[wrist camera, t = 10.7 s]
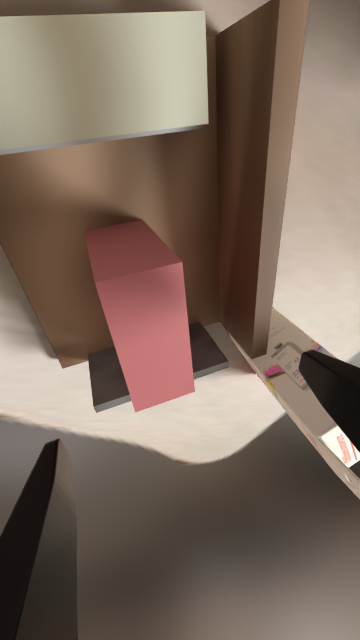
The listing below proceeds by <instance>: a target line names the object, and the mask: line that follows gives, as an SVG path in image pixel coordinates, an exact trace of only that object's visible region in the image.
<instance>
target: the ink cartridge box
mask: <svg viewBox="0 0 360 640" xmlns="http://www.w3.org/2000/svg"><path fill="white" fill-rule="evenodd" d="M229 336H230V338H231V339H232V340H233V342H234V343H235V345H236V346H237V348H238V349H239V350H240V352H241V353H242V355H243V356H244V357H245V359H246V360H247V361H248V363H249V364H250V366H251V367H252V368H253V370H254V371H255V372H256V374H257V376H258V377H259V378H260V379H261V380H262V382H263V383H264V384H265V385H266V387H267V388H268V389H269V391H270V392H271V393H272V394H273V396H274V397H275V398H276V399H277V401H278V402H279V403H280V404H281V406H282V407H283V408H284V410H285V411H286V412H287V413H288V414H289V416H290V417H291V418H292V419H293V421H294V422H295V423H296V424H297V426H298V427H299V428H300V429H301V431H302V432H303V433H304V434H305V436H306V437H307V438H308V439H309V441H310V442H311V443H312V444H313V446H314V447H315V448H316V449H317V451H318V452H319V453H320V454H321V455H322V457H323V458H324V459H325V461H326V462H327V463H328V464H329V465H330V467H331V468H332V469H333V471H334V472H335V473H336V474H337V475H338V476H339V478H341V480H342V481H343V482H344V483H345V484H346V485H347V486H348V487H349V488H350V489H351V490H352V491H353V492H354V493H355V495H356V496H357V497H358V498H359V499H360V479H359V478H358V477H357V476H356V475H355V474H354V473H353V472H352V471H351V470H350V469H349V467H350V466H351V465H353V464H355V463H356V462H357V461H359V460H360V453H359V451H358V450H357V449H356V448H355V446H354V445H353V444H352V443H351V441H350V440H349V439H348V438H347V436H346V435H345V434H344V433H343V432H342V430H341V429H340V428H339V427H338V425H337V424H336V423H335V422H334V420H333V419H332V418H331V417H330V415H329V414H328V413H327V412H326V410H325V409H324V408H323V407H322V405H321V404H320V402H319V401H318V399H317V398H316V396H315V395H314V393H313V392H312V390H311V389H310V387H309V386H308V384H307V383H306V381H305V380H304V378H303V377H302V375H301V374H300V372H299V362H300V358H301V354H302V353H303V352H305V351H308V350H316V351H318V352H321V353H323V354H326V355H329V356H331V357H334V358H336V357H335V356H333V355H332V354H331V353H329V352H328V351H327V350H326V349H324V348H323V347H322V346H321V345H319V344H318V343H317V342H315V341H314V340H313V339H312V338H310V337H309V336H308V335H307V334H306V333H304V332H303V331H302V330H301V329H299V328H298V327H297V326H295V325H294V324H293V323H292V322H291V321H289V320H288V319H287V318H285V317H284V316H283V315H282V314H280V313H279V312H278V311H277V310H275V309H274V308H273V307H272V312H271V321H270V329H269V337H268V345H267V354H266V355H263V356H260V357H257V358H254V359H251V358H250V357H249V356H248V355H247V354H246V352H245V351H244V350H243V349H242V348H241V346H240V345H239V344H238V343H237V342H236V340H235V339H234V338H233V337H232V336H231V334H230V333H229ZM336 359H337V358H336ZM346 475H347V476H346ZM347 477H348V478H349V479H350V480H351V481H352V483H353V484H352V483H351V482H350V481H349V480H348V478H347Z"/></svg>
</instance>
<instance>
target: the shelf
mask: <svg viewBox="0 0 360 640" xmlns="http://www.w3.org/2000/svg"><path fill="white" fill-rule="evenodd" d="M308 9H309V0H270V1H269V2H267V3H266V4H264V5H263V6H261V7H259V8H258V9H256V10H255V11H253V12H252V13H250V14H249V15H247V16H245V17H244V18H242V19H241V20H239V21H238V22H236V23H234V24H233V25H231V26H230V27H228V28H227V29H225V30H224V31H222V32H220V33H219V34H217V35H216V36H206V20H205V11H178V12H143V13H108V14H73V15H39V16H4V17H0V243H1V245H2V247H3V249H4V251H5V253H6V255H7V257H8V259H9V261H10V263H11V265H12V267H13V269H14V271H15V273H16V275H17V277H18V279H19V281H20V283H21V285H22V287H23V289H24V291H25V294H26V296H27V298H28V300H29V302H30V304H31V306H32V308H33V310H34V312H35V314H36V316H37V318H38V320H39V322H40V324H41V326H42V328H43V330H44V332H45V334H46V336H47V338H48V340H49V342H50V344H51V346H52V348H53V350H54V352H55V354H56V356H57V358H58V360H59V362H60V364H61V366H62V368H66V367H69V366H72V365H76V364H79V363H82V362H86V361H89V370H90V379H91V388H92V397H93V406H94V409H95V411H96V413H97V412H100V411H103V410H106V409H109V408H112V407H115V406H117V405H120V404H123V403H126V402H129V401H132V400H131V397H130V393H129V390H128V387H127V384H126V381H125V377H124V374H123V371H122V368H121V365H120V362H119V358H118V355H117V352H116V349H115V346H114V342H113V339H112V336H111V333H110V330H109V326H108V323H107V320H106V317H105V314H104V311H103V307H102V304H101V301H100V298H99V295H98V291H97V288H96V285H95V281H94V277H93V272H92V267H91V263H90V258H89V253H88V249H87V244H86V240H85V235H84V231H87V230H92V229H97V228H102V227H107V226H112V225H117V224H122V223H128V222H133V221H138V220H144V221H145V222H146V224H147V225H148V226H149V227H150V228H151V229H152V230H153V231H154V232H155V233H156V234H157V235H158V236H159V238H160V239H161V240H162V241H163V242H164V243H165V244H166V245H167V246H168V247H169V248H170V249H171V250H172V251H173V253H174V254H175V255H176V256H177V257H178V258H179V259H180V260H181V261H182V264H183V274H184V285H185V295H186V305H187V316H188V326H189V336H190V347H191V357H192V367H193V378H194V379H196V378H199V377H202V376H205V375H208V374H211V373H214V372H216V371H219V370H222V369H225V368H228V360H227V359H226V357H225V356H224V354H223V353H222V352H221V350H220V349H219V348H218V346H217V345H216V343H215V342H214V341H213V339H212V338H211V337H210V335H209V334H208V333H207V331H206V330H205V328H204V327H203V326H206V325H209V324H212V323H216V322H219V321H220V322H221V324H222V325H223V326H224V327H225V328H226V330H227V331H228V332H229V333H230V334H231V336H232V337H233V338H234V339H235V340H236V342H237V343H238V344H239V345H240V346H241V348H242V349H243V350H244V351H245V352H246V354H247V355H248V356H249V357H250V358H251V359H254V358H257V357H260V356H263V355H266V354H267V345H268V337H269V329H270V321H271V312H272V304H273V296H274V288H275V280H276V271H277V263H278V255H279V247H280V239H281V230H282V222H283V214H284V206H285V198H286V189H287V181H288V173H289V165H290V156H291V148H292V140H293V132H294V124H295V115H296V107H297V99H298V91H299V83H300V74H301V66H302V58H303V50H304V42H305V33H306V25H307V17H308Z"/></svg>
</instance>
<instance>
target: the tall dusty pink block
mask: <svg viewBox="0 0 360 640" xmlns="http://www.w3.org/2000/svg"><path fill="white" fill-rule="evenodd" d="M84 235H85V240H86V244H87V249H88V253H89V258H90V263H91V267H92V272H93V277H94V281H95V285H96V288H97V291H98V295H99V298H100V301H101V304H102V307H103V311H104V314H105V317H106V320H107V323H108V326H109V330H110V333H111V336H112V339H113V342H114V346H115V349H116V352H117V355H118V358H119V362H120V365H121V368H122V371H123V374H124V377H125V381H126V384H127V387H128V390H129V393H130V397H131V400H132V403H133V406H134V409H135V412H138V411H141V410H144V409H146V408H149V407H152V406H155V405H158V404H161V403H163V402H166V401H169V400H172V399H175V398H178V397H180V396H183V395H186V394H189V393H192V392H195V388H194V378H193V367H192V357H191V347H190V336H189V326H188V316H187V305H186V295H185V285H184V274H183V264H182V261H181V260H180V259H179V258H178V257H177V256H176V255H175V254H174V253H173V251H172V250H171V249H170V248H169V247H168V246H167V245H166V244H165V243H164V242H163V241H162V240H161V239H160V238H159V236H158V235H157V234H156V233H155V232H154V231H153V230H152V229H151V228H150V227H149V226H148V225H147V224H146V222H145V221H144V220H138V221H133V222H128V223H122V224H117V225H112V226H107V227H102V228H97V229H92V230H87V231H84Z"/></svg>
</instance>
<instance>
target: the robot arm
mask: <svg viewBox="0 0 360 640" xmlns="http://www.w3.org/2000/svg"><path fill="white" fill-rule="evenodd" d="M299 372H300V374H301V375H302V377H303V378H304V380H305V381H306V383H307V384H308V386H309V387H310V389H311V390H312V392H313V393H314V395H315V396H316V398H317V399H318V401H319V402H320V404H321V405H322V407H323V408H324V409H325V410H326V412H327V413H328V414H329V415H330V417H331V418H332V419H333V420H334V422H335V423H336V424H337V425H338V427H339V428H340V429H341V430H342V432H343V433H344V434H345V435H346V436H347V438H348V439H349V440H350V441H351V443H352V444H353V445H354V446H355V448H356V449H357V450H358V451H359V453H360V368H359V367H356V366H353V365H351V364H349V363H346V362H344V361H341V360H339V359H336V358H334V357H331V356H329V355H326V354H323V353H321V352H318V351H316V350H308V351H305V352H303V353H302V354H301V358H300V362H299ZM76 516H77V515H76V500H75V492H74V485H73V477H72V468H71V459H70V455H69V452H68V450H67V449H66V447H65V446H64V444H63V442H62V441H61V440H60V439H55V440H52V441H49V442H47V443H46V444H45V445H44V447H43V449H42V451H41V453H40V455H39V457H38V459H37V461H36V463H35V465H34V467H33V469H32V471H31V473H30V475H29V478H28V480H27V482H26V484H25V486H24V488H23V490H22V492H21V494H20V496H19V498H18V500H17V502H16V504H15V506H14V508H13V510H12V513H11V514H10V517H9V519H8V521H7V523H6V525H5V527H4V529H3V531H2V533H1V535H0V640H78V615H77V614H78V612H77V611H78V610H77V517H76Z"/></svg>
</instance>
